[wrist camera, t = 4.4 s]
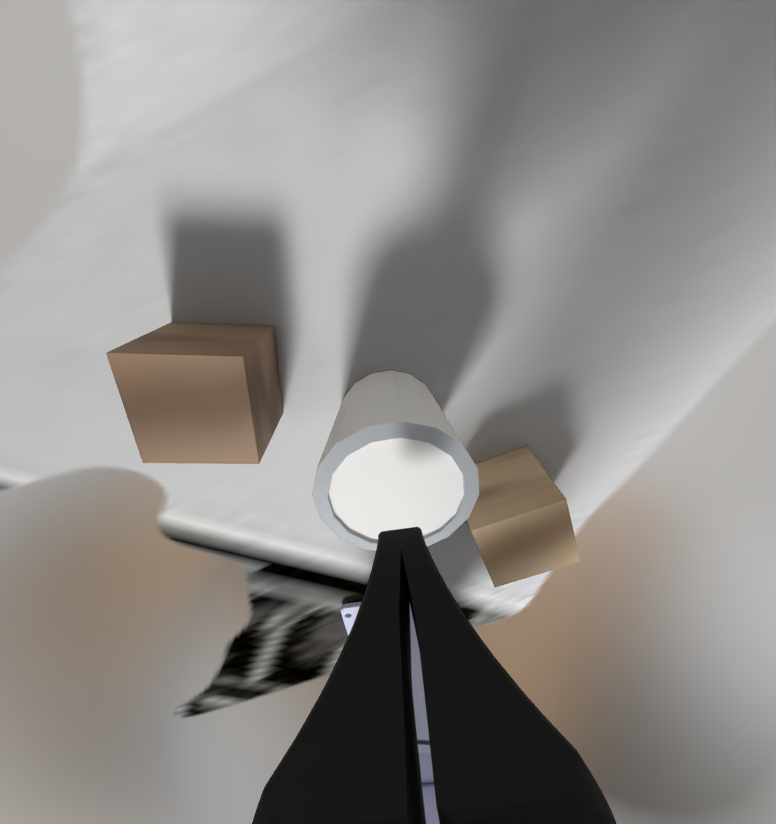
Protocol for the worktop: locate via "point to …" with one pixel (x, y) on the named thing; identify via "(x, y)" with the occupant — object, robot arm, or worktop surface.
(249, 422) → the walnut block
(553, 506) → the oak block
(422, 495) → the white cup
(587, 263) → the worktop surface
